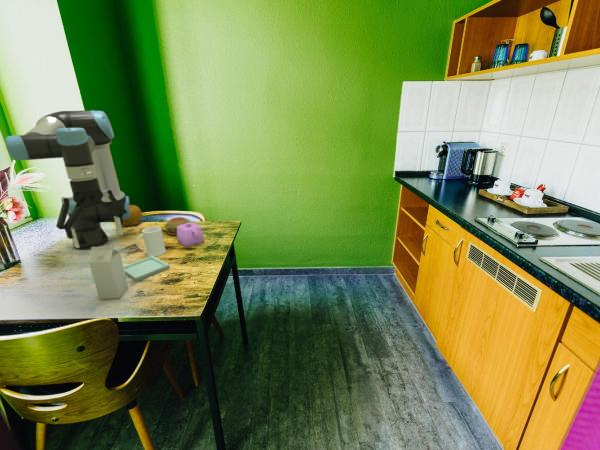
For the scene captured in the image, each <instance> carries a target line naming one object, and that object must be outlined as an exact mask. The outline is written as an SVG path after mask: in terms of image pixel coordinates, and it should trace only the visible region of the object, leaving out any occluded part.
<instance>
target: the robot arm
mask: <svg viewBox="0 0 600 450" xmlns="http://www.w3.org/2000/svg"><path fill="white" fill-rule="evenodd" d="M114 137H115V135H114V130H113V127H112V124H111V122H110V119H109V117H108V115H107V114H106V113H105V111H103V110H93V109H91V110H89V109H88V110H61V111H55V112H52V113H49V114H47V115H44V116H42V117H40V118H39V119H38V120H37V122H36V124H35V126H34V127H33V128H31V129H30V130H29V131H27V132H26V133H24V134H20V135H19V134H15V135H9V136H7V137H6V138H5V147H6V150H7V153H8V155H9V156H10V158H12V159H13V160H16V161H33V160H45V159H46V160H47V159H62V158H63V159H62V160H63V163H64V167H65V171H66V174H67V178H68V179H69V180H70V181H69V185H70V188H71V193H72V197H71V196H70V197H69V196H68V197H65V196H62V197H61V207H60V211H59V213H58V215H59V216H58V218H57V222H56V228H57V229H58V230H65V235H66V237H67V239H69V240H71V242H72V247H73V249H75V250H80V251H81V250H83V251H84V250H90V249H91V250H92V248H91V247H102V246H104V245H106V244H107V243H108V242H109V237H108V235H107V234H106V232H105V231H104V229H103V228H102V225H101V223H108V222H114V223H115V227H116V228H115V229H116V231H117V235H120V236H124V231H123V227H122V226H124V225H125V224H124V223H123V219H128V218H129V217H130V208H129V205H130V197H129V196H127V195H126V194H125V192H124V191H121V189H120V185H119V180H118V177H117V172H116V169H115V165H114V161H113V156H112V153H111V150H110V149H111V148H110V145H111V144H112V139H113V138H114ZM67 217H68V218H67Z"/></svg>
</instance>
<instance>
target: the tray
mask: <svg viewBox="0 0 600 450" xmlns="http://www.w3.org/2000/svg"><path fill="white" fill-rule="evenodd" d="M123 267H124V271H125V275H126V276H127V277H128V278H130V279H132V281H134V282H135V283H137V282H140V281H143V280H145V279H147V278H150V277H152V276H154V275H157V274H159V273H163V272H164V271H166V270H169V269H170V268H171V267H170V264H169V263H167V262H166V261H163V260H162V259H159V258H157V256H147V257H146V258H142V259H140V260H137V261H134V262H131V263H129V264H126V265H123Z"/></svg>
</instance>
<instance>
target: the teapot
mask: <svg viewBox="0 0 600 450" xmlns="http://www.w3.org/2000/svg"><path fill="white" fill-rule="evenodd" d="M176 236H177V237H176V238H177V240H178V242H179V244H181V245H182V246H184V247H186V248H188V247H189V248H190V247H193V246H197V245H199V244H203V243H204V234H203V230H202V228H201V226H200V225H199V224H197V223H195V222H192V221H191V223H186V224H180V225H179V226H177V235H176Z"/></svg>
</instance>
